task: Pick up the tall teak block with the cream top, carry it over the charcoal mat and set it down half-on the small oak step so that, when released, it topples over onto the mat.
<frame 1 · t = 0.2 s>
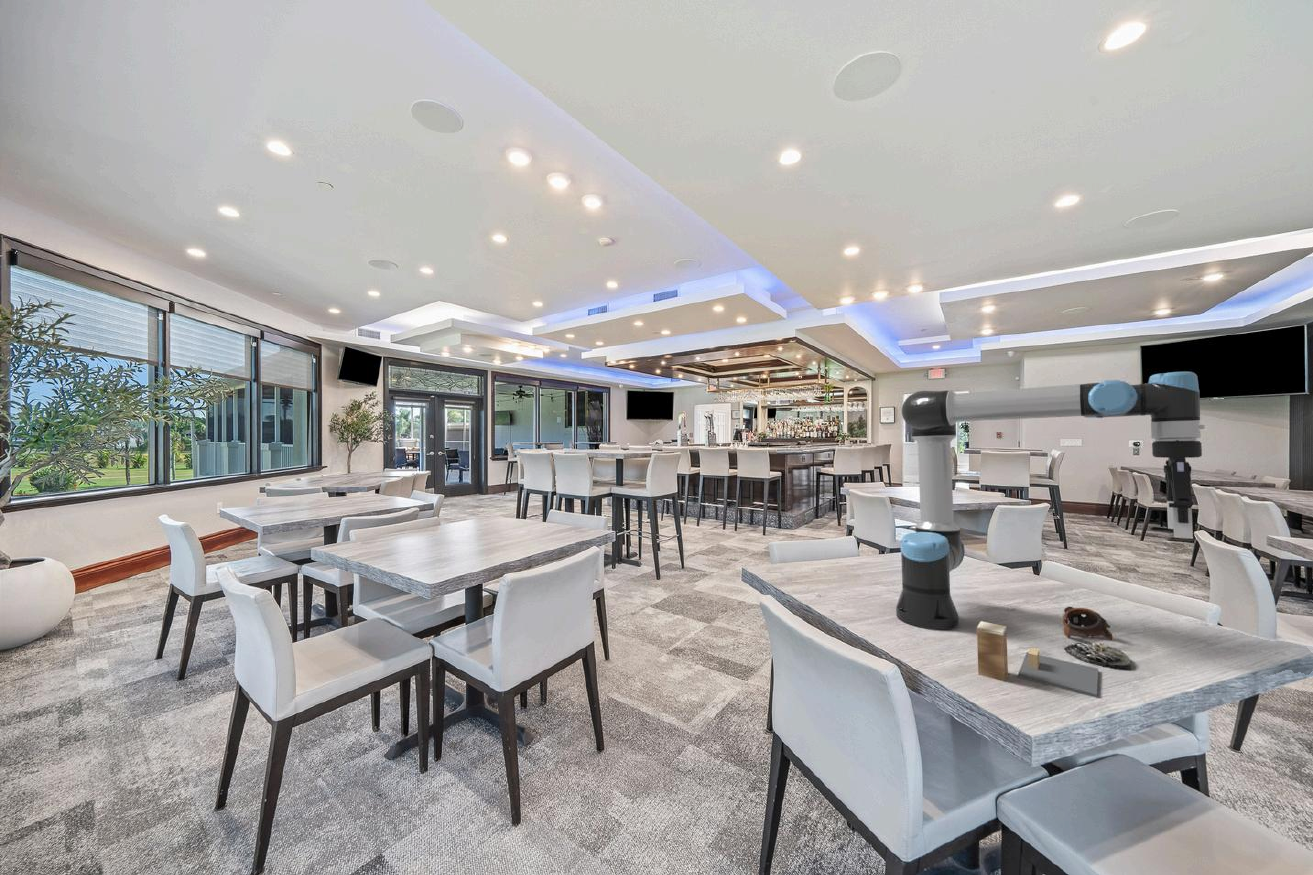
hand: (1179, 533, 106), 28 cm above the table, fingers open, 13 cm apart
teak block: (993, 674, 99), on the table
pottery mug: (1084, 637, 117), on the table
oyster shell: (1099, 660, 105), on the table
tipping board: (1058, 674, 98), on the table
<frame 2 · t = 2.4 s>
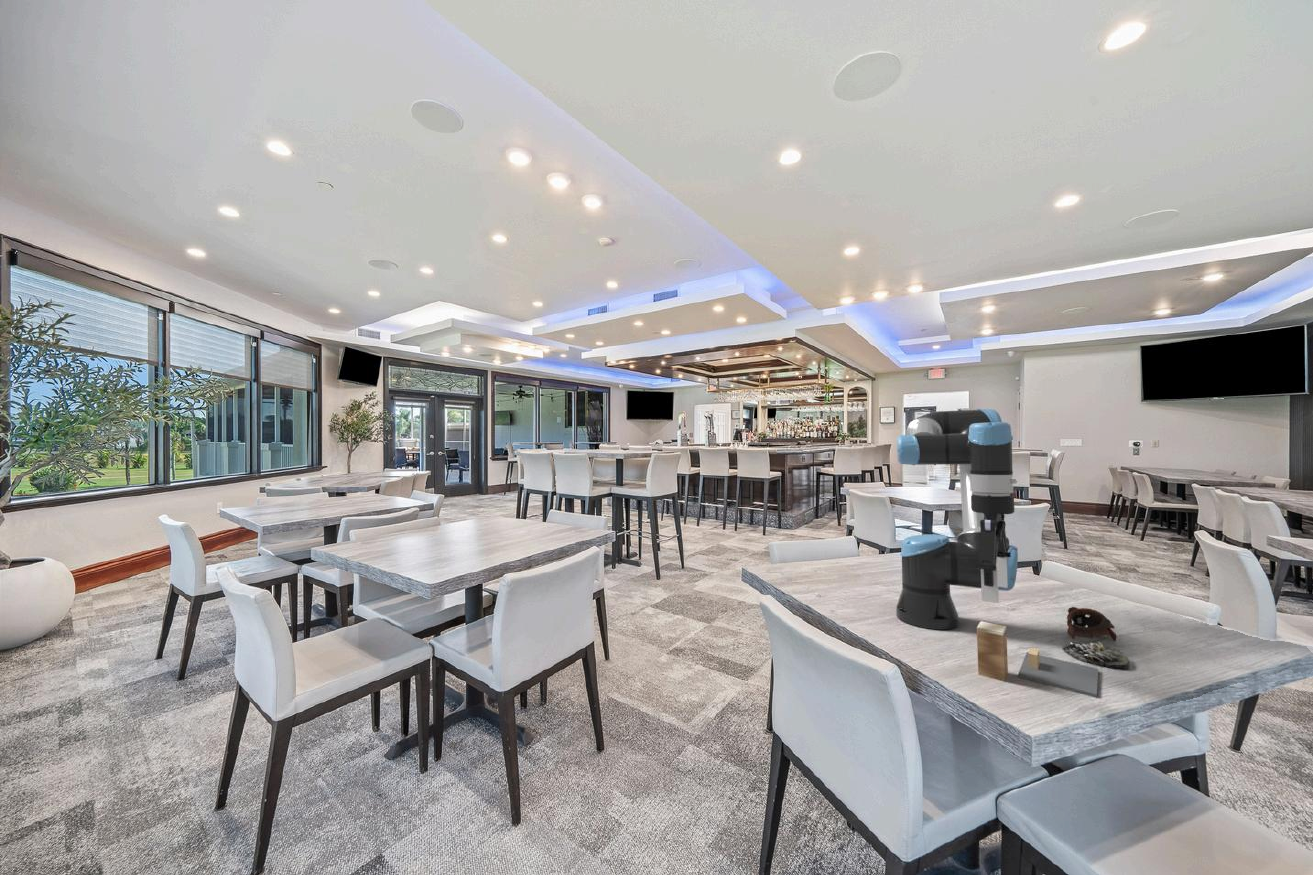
hand: (995, 593, 99), 17 cm above the table, fingers open, 13 cm apart
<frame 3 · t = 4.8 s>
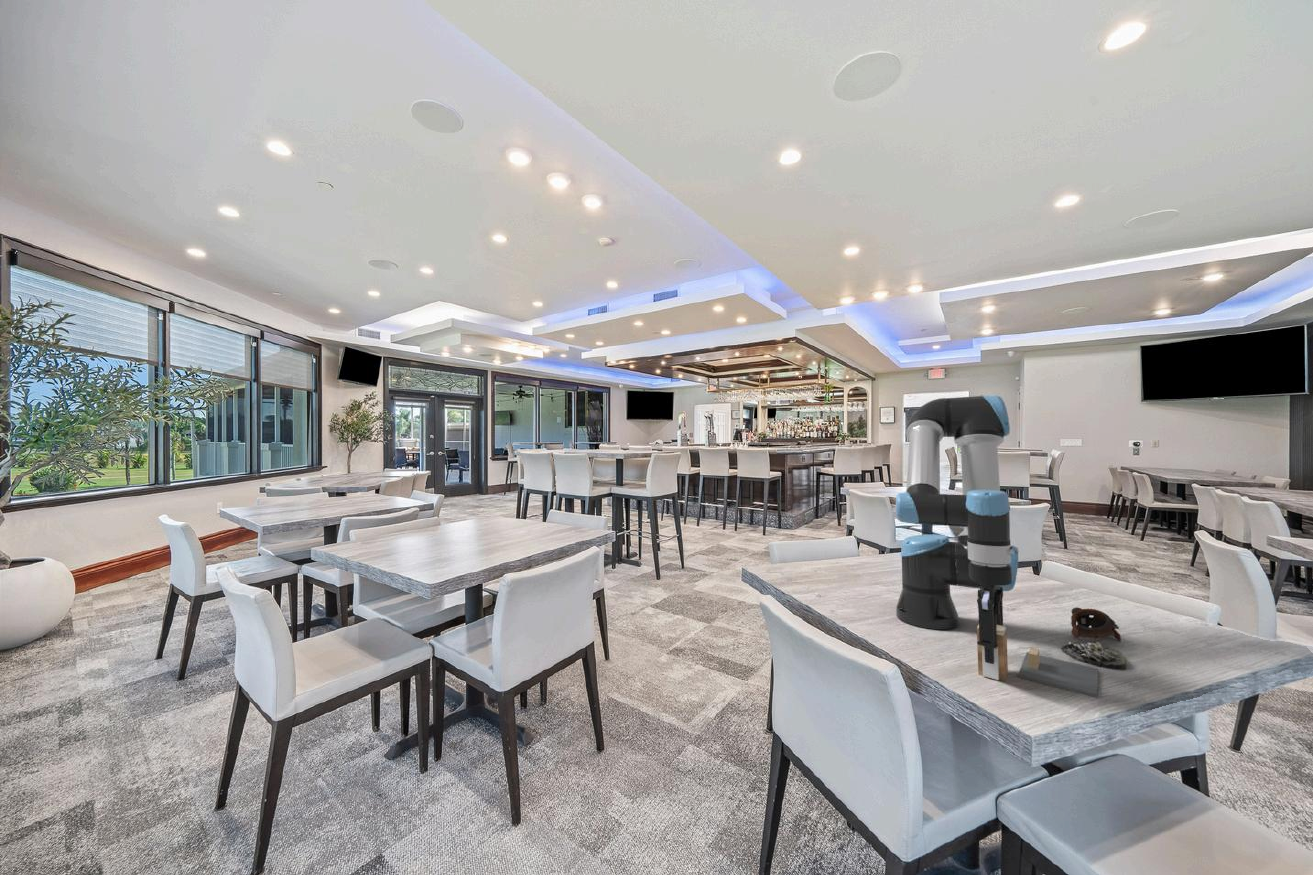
hand: (993, 672, 99), 0 cm above the table, fingers closed on teak block, 4 cm apart
teak block: (993, 674, 99), on the table, touching gripper
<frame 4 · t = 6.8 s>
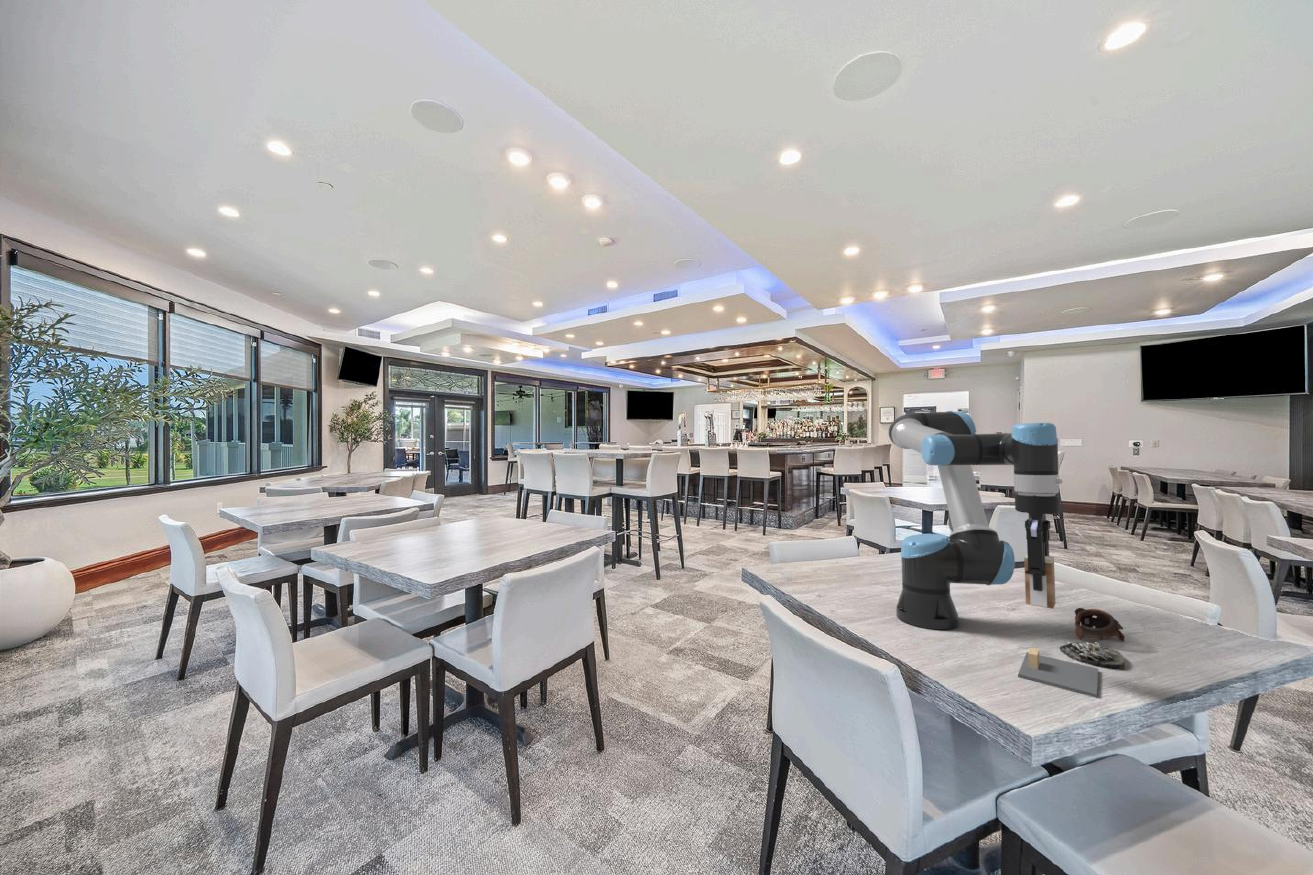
hand: (1040, 602, 100), 15 cm above the table, fingers closed on teak block, 4 cm apart
teak block: (1040, 603, 100), point 14 cm above the table, touching gripper
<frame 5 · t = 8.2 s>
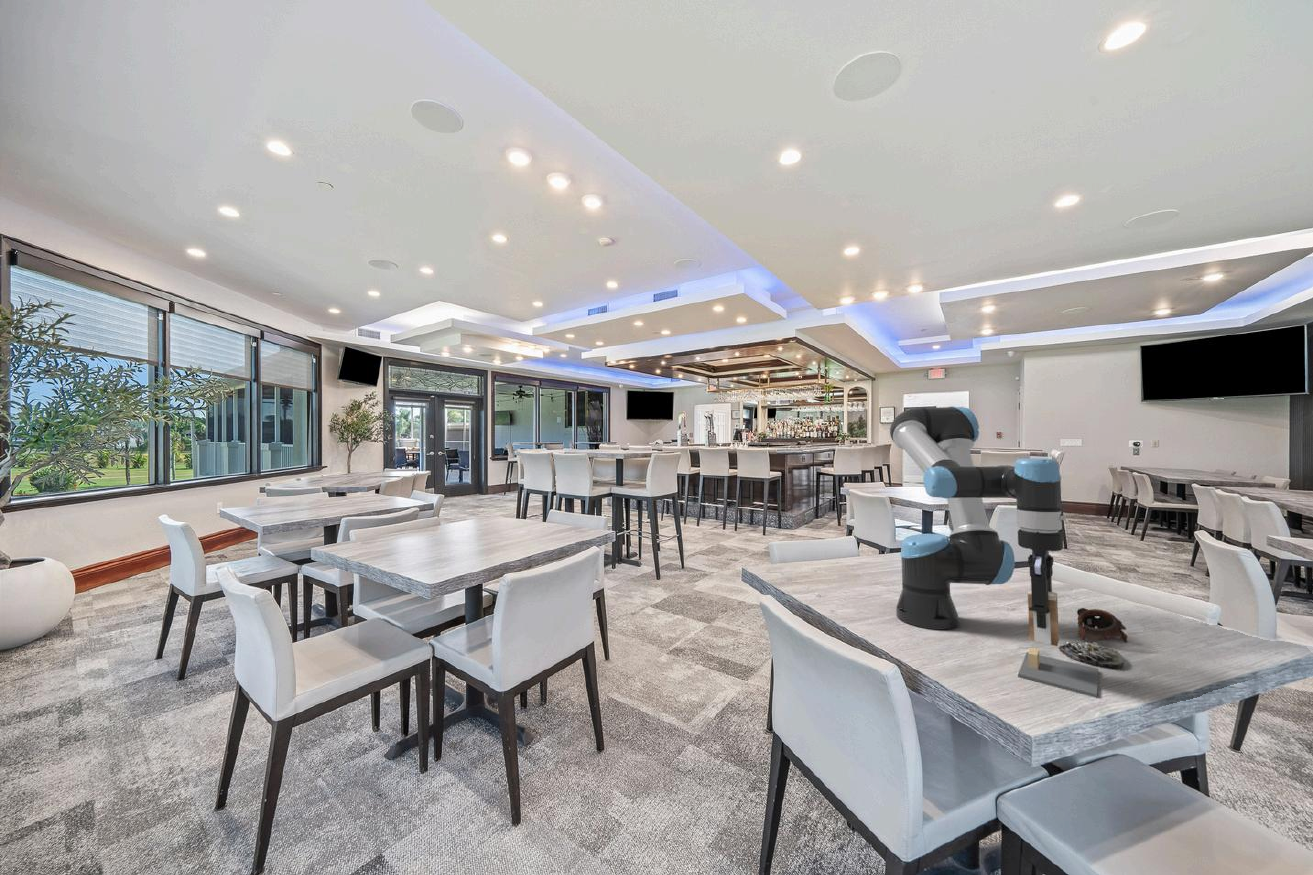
hand: (1044, 638, 100), 7 cm above the table, fingers closed on teak block, 4 cm apart
teak block: (1044, 640, 100), point 7 cm above the table, touching gripper
when the fingers open (4 cm above the table, at t = 9.0 s): teak block drops 1 cm and tips over, resting on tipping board.
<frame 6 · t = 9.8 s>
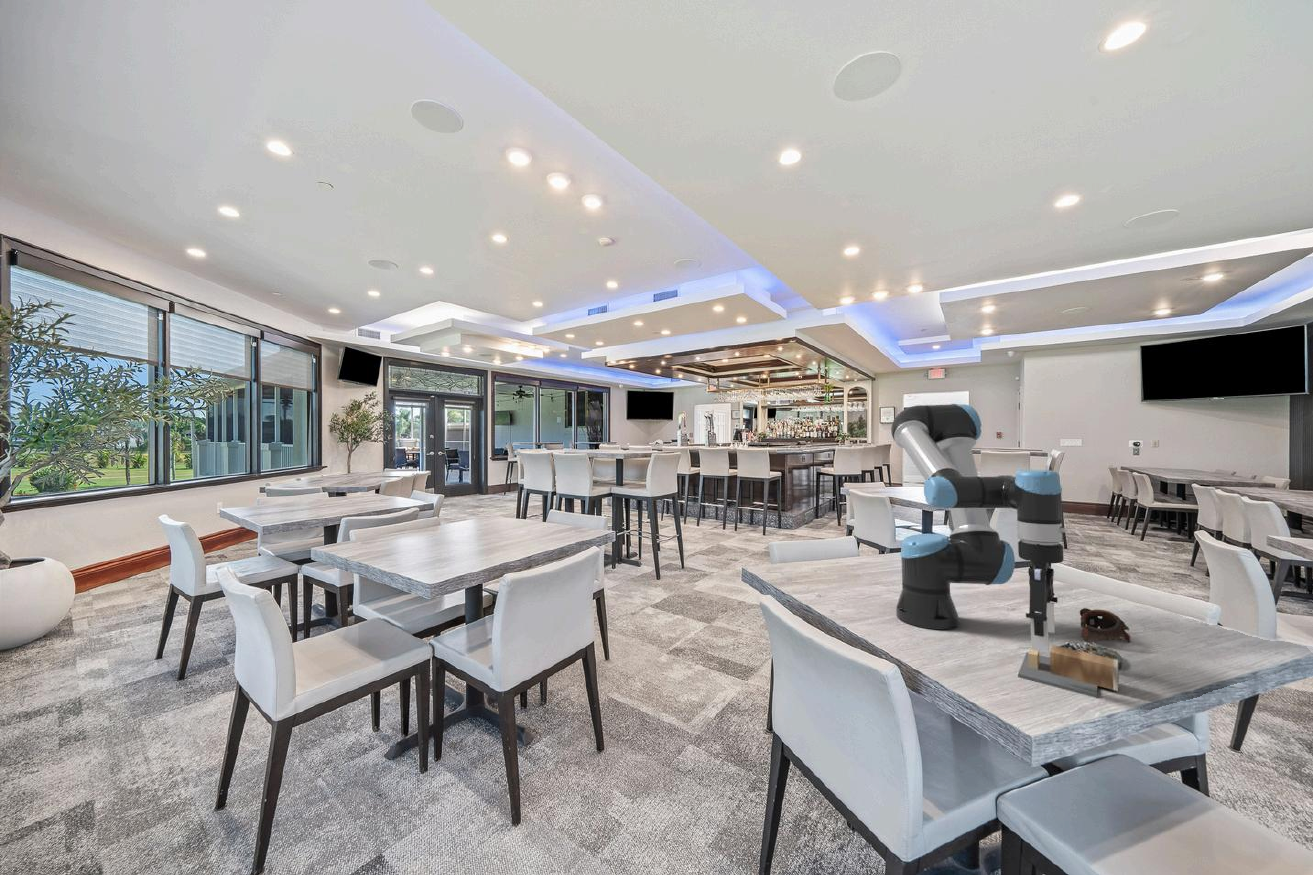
hand: (1043, 640, 100), 6 cm above the table, fingers open, 13 cm apart
teak block: (1051, 659, 99), point 3 cm above the table, tilted 90°, touching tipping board
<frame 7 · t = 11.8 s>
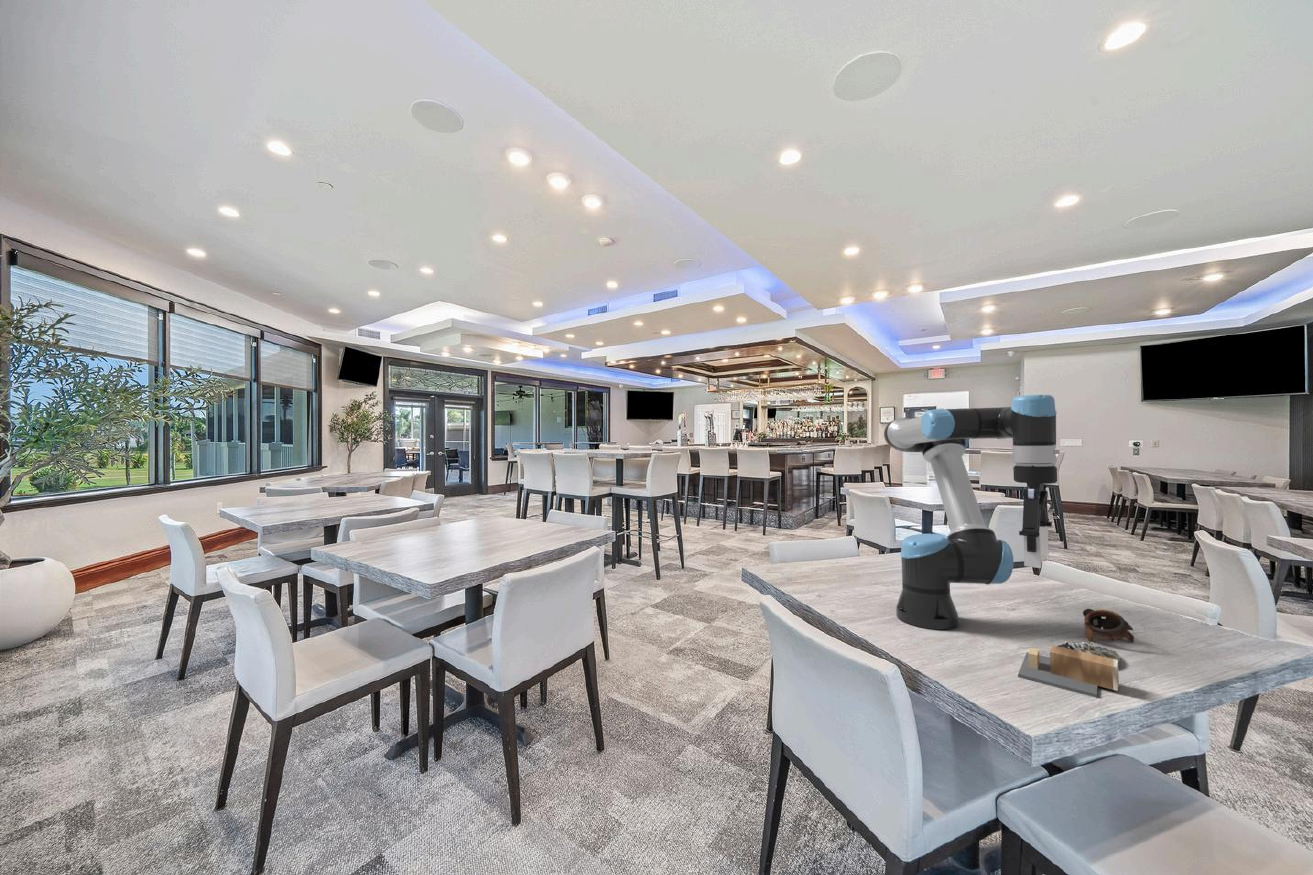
hand: (1037, 560, 103), 23 cm above the table, fingers open, 13 cm apart
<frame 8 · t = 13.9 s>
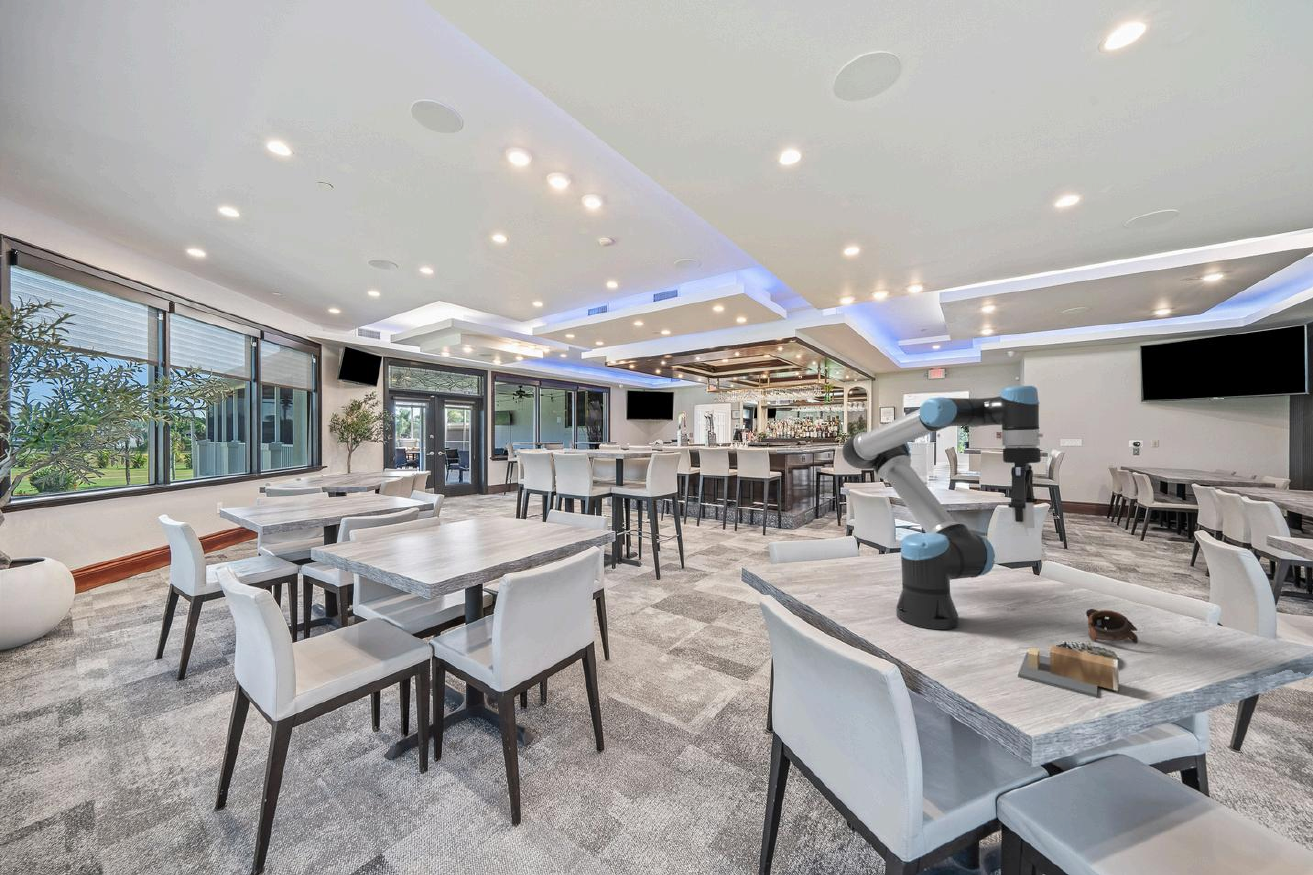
hand: (1024, 531, 117), 27 cm above the table, fingers open, 13 cm apart
at the end: teak block tilted 90°; teak block inside the target area (5.0 cm from its centre), point 2.8 cm above the table; the gripper is holding nothing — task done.
